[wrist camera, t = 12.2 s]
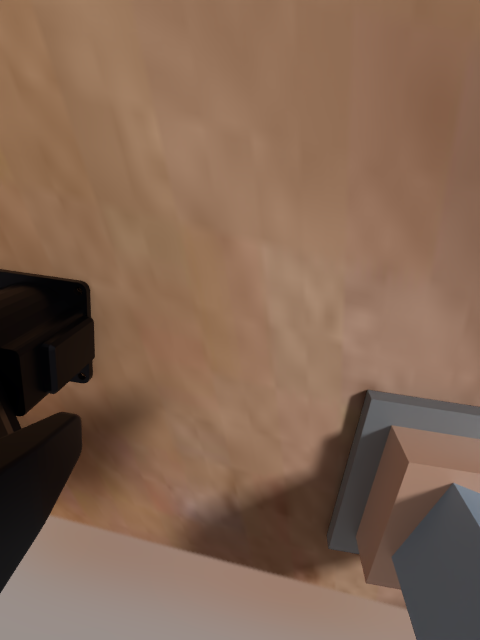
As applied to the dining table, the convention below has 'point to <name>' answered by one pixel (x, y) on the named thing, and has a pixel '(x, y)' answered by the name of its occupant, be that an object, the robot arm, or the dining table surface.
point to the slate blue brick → (444, 569)
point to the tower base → (372, 447)
